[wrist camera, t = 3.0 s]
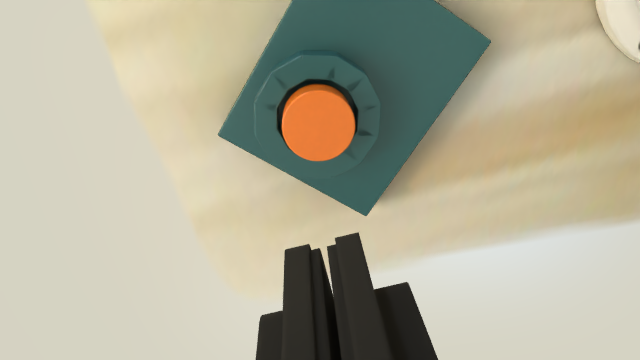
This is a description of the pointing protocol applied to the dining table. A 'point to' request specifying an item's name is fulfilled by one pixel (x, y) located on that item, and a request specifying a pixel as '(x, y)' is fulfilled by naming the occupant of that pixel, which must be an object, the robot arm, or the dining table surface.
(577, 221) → the dining table surface
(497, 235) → the dining table surface
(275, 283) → the dining table surface
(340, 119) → the orange button cap
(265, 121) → the button base
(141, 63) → the dining table surface
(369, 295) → the robot arm
